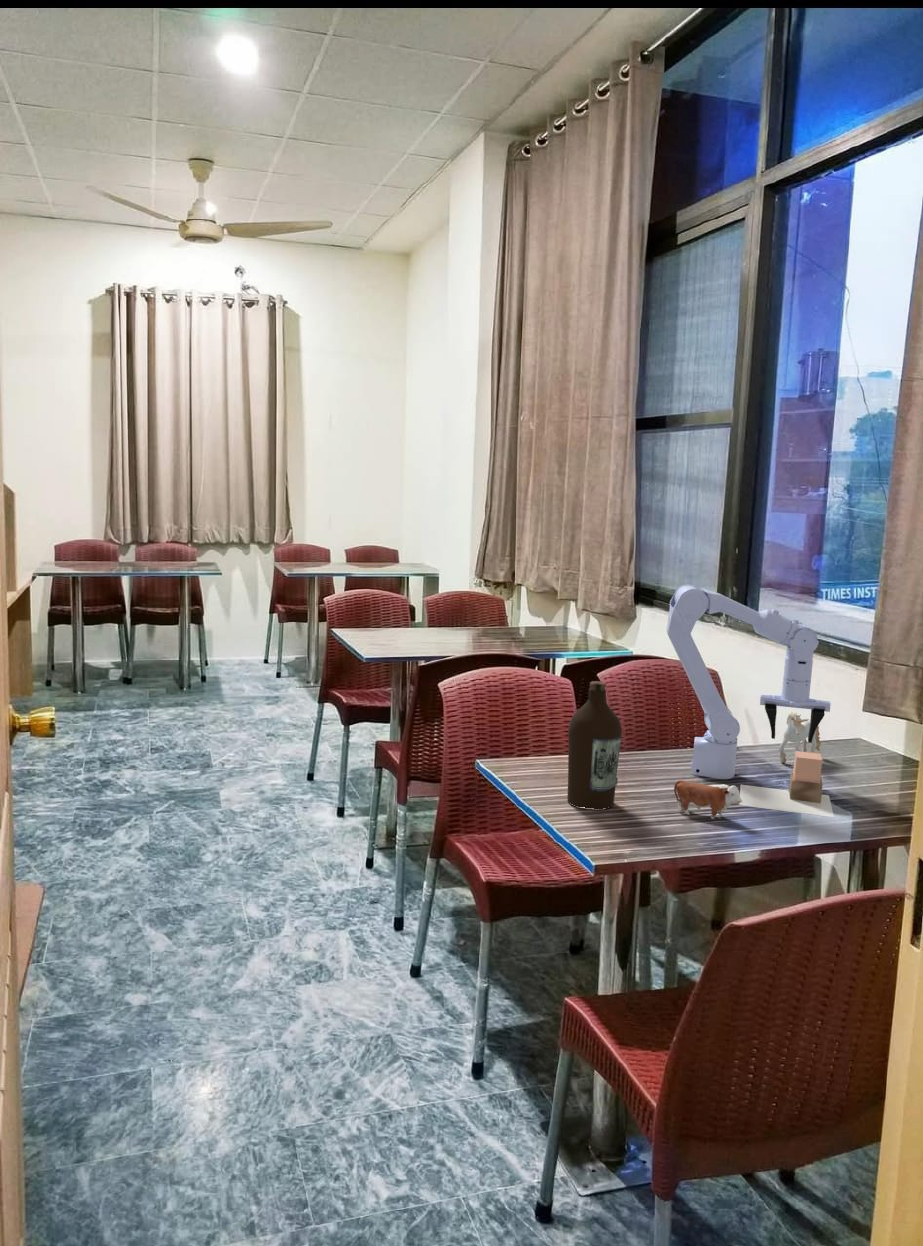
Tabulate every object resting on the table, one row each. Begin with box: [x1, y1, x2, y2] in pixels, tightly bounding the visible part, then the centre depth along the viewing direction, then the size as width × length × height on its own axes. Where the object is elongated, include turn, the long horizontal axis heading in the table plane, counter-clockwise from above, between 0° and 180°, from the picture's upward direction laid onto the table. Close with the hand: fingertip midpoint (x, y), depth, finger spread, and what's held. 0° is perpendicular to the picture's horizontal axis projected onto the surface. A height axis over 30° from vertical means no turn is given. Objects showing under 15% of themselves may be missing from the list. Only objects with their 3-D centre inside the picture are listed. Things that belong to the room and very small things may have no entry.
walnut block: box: [788, 772, 824, 803], centre depth 201 cm, size 6×6×4 cm
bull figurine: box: [673, 780, 742, 820], centre depth 187 cm, size 4×13×8 cm, turn 58°
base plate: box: [738, 784, 835, 818], centre depth 198 cm, size 18×14×1 cm
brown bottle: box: [567, 680, 623, 809], centre depth 193 cm, size 11×11×25 cm
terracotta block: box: [792, 750, 823, 784], centre depth 200 cm, size 5×5×5 cm
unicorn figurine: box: [778, 711, 822, 764], centre depth 228 cm, size 7×20×13 cm, turn 149°
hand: (791, 739), depth 212 cm, fingers open, 7 cm apart
